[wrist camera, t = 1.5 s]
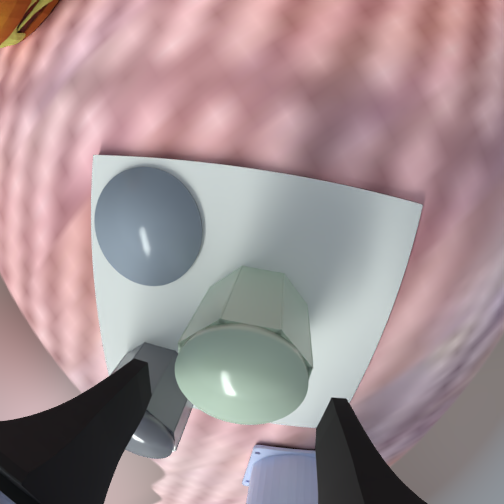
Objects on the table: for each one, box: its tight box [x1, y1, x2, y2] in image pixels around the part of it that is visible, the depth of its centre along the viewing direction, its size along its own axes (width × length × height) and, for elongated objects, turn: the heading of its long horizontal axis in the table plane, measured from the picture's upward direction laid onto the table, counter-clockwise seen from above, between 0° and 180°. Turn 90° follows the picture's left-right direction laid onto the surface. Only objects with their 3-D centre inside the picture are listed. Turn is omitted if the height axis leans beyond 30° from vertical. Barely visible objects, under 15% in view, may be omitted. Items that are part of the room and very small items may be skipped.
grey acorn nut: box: [111, 342, 193, 459], centre depth 17 cm, size 6×6×6 cm
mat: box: [91, 155, 423, 428], centre depth 17 cm, size 18×19×1 cm
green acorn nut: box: [175, 265, 314, 425], centre depth 14 cm, size 6×6×6 cm
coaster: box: [94, 167, 203, 286], centre depth 16 cm, size 7×7×1 cm
